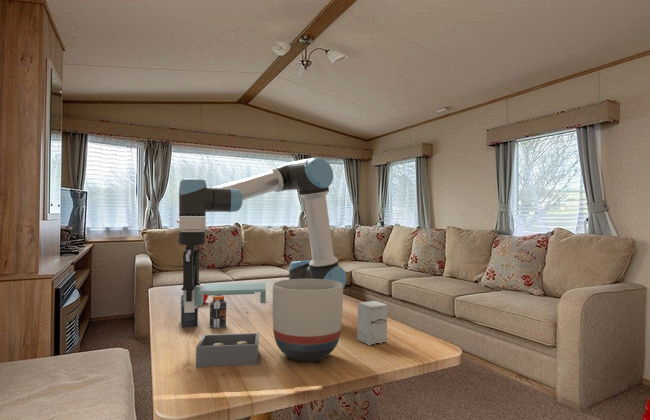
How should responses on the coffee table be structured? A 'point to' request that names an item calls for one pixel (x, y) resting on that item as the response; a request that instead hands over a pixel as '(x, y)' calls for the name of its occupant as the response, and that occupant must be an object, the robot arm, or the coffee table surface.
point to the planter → (307, 317)
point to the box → (188, 317)
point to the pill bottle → (218, 312)
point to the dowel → (241, 342)
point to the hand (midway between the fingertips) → (191, 309)
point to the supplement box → (372, 322)
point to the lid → (228, 290)
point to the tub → (227, 350)
